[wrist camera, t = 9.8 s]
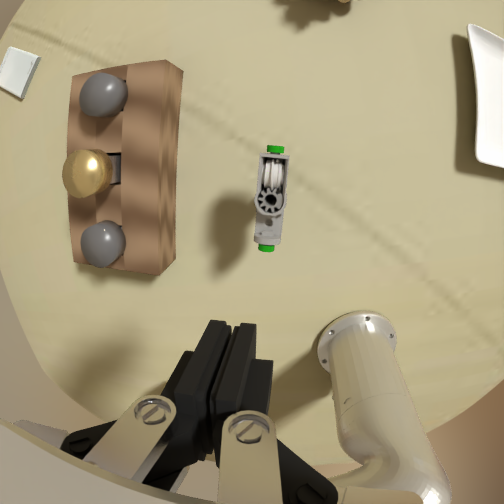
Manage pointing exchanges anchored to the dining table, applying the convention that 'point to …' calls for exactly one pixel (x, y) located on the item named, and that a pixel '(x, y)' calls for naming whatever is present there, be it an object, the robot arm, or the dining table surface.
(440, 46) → the dining table surface
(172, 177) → the knob panel
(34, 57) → the hard drive
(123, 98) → the knob
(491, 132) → the salad plate
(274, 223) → the mechanical component
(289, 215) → the dining table surface
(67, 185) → the knob middle
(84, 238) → the knob
